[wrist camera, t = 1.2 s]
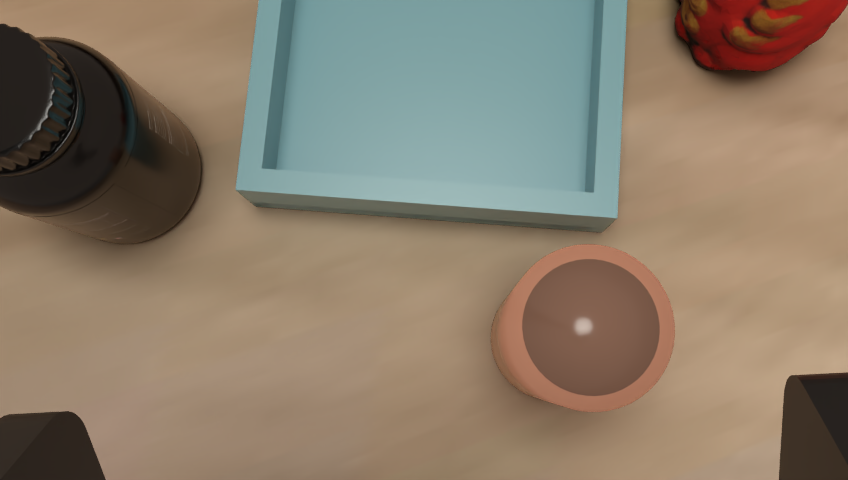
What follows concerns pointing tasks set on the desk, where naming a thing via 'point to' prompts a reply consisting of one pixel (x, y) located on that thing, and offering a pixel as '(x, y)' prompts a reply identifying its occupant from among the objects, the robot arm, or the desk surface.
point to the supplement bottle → (88, 143)
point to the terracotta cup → (585, 329)
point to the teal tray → (438, 110)
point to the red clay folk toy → (753, 30)
